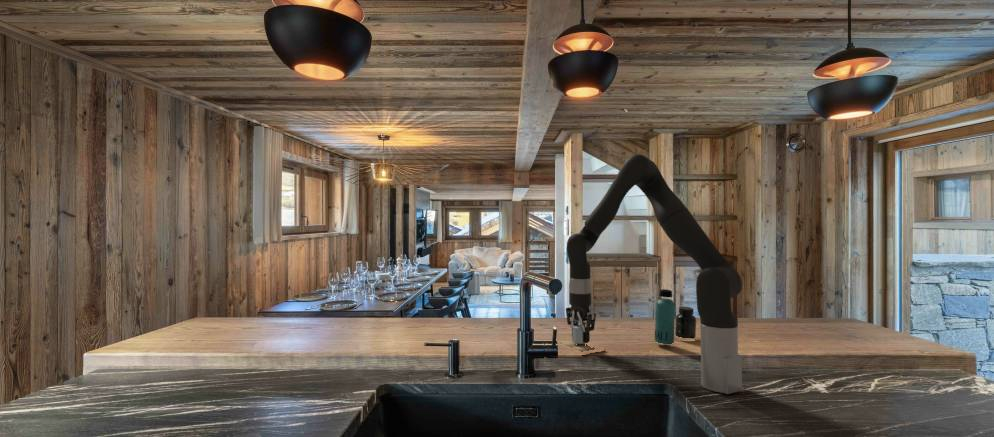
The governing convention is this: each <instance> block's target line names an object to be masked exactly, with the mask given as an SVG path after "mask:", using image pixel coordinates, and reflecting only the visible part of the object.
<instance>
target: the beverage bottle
mask: <svg viewBox="0 0 994 437" xmlns="http://www.w3.org/2000/svg"><path fill="white" fill-rule="evenodd" d="M659 296H660V297H661V298H659V299H657V300H656V301H655V314H654V315H655V316H654V318H655V323H654V325H655V326H654V341H656V342H658V343H663V344H672V343H673V344H674V342H675V310H676V306H675V305H676V303H675V302H674V300H672V299H670V298H672V297H673V291H672V290H670V289H664V288H663V289H660V290H659ZM656 342H655V343H656ZM658 343H657V344H658ZM673 344H672V345H673Z"/></svg>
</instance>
